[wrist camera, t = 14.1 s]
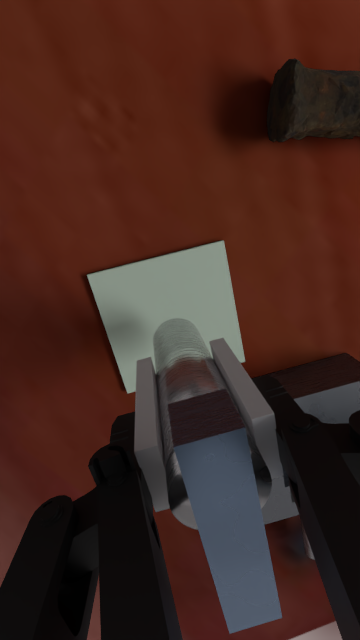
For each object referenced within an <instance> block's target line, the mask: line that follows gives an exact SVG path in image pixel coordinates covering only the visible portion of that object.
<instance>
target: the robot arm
mask: <svg viewBox="0 0 360 640" xmlns="http://www.w3.org/2000/svg"><path fill="white" fill-rule="evenodd" d="M209 343H210V347H211V352H212V356H213V360H214V362H215V364H216V366H217V368H218V370H219V372H220V374H221V376H222V378H223V380H224V382H225V384H226V386H227V388H228V390H229V392H230V394H231V396H232V398H233V400H234V402H235V404H236V406H237V408H238V410H239V412H240V414H241V416H242V418H243V420H244V422H245V424H246V426H247V428H248V430H249V432H250V434H251V436H252V437H253V439H254V441H255V443H256V445H257V447H258V449H259V451H260V453H261V455H262V457H263V459H264V461H265V463H266V465H267V467H268V469H269V471H270V474H271V479H274V478H277V477H281V476H284V475H283V468H282V465H283V467H284V469H285V471H286V473H287V474H288V479H289V486H290V493H291V500H292V503H293V502H295V504H296V506H297V509H298V512H299V515H300V518H301V521H302V524H303V527H304V530H305V532H306V535H307V538H308V541H309V544H310V547H311V550H312V553H313V556H314V558H315V561H316V564H317V567H318V570H319V573H320V576H321V579H322V582H323V584H324V587H325V590H326V593H327V596H328V599H329V602H330V605H331V608H332V610H333V613H334V616H335V619H336V622H337V625H338V628H339V631H340V633H341V636H342V639H343V640H360V410H359V411H356V412H354V413H353V414H351V416H350V417H349V423H338V424H330V423H322V422H321V421H320V420H319V419H318V418H317V417H315V416H313V415H311V414H307V413H304V411H303V410H302V409H301V408H300V407H299V405H298V404H297V403H296V402H295V401H294V399H293V398H292V397H291V396H290V395H289V393H287V391H286V390H285V389H284V387H283V386H282V385H281V384H280V383H279V381H278V380H277V379H275V378H273V377H271V376H269V375H264V376H261V377H257V378H253V379H251V378H250V377H249V375H248V374H247V372H246V371H245V369H244V368H243V366H242V365H241V363H240V362H239V360H238V359H237V357H236V356H235V354H234V353H233V351H232V350H231V349H230V347H229V346H228V344H227V343H226V341H225V340H224V338H220V339H216V340H212V341H209ZM88 467H89V469H90V471H91V474H92V476H93V478H94V481H95V483H96V485H97V486H96V487H95V488H94V489H93V490H92V491H90V492H89V493H87V494H86V495H84V496H82V497H80V498H78V499H77V500H75V501H73V502H72V500H71V498H70V497H68V496H66V495H63V496H56V497H54V498H51V499H49V500H48V501H46V502H45V503H43V504H42V505H41V506H40V507H39V508H38V509H37V510H36V511H35V512H34V514H33V516H32V517H31V519H30V521H29V523H28V526H27V528H26V530H25V533H24V535H23V537H22V539H21V542H20V544H19V546H18V548H17V551H16V553H15V555H14V558H13V560H12V562H11V564H10V567H9V569H8V571H7V573H6V576H5V578H4V580H3V583H2V585H1V587H0V640H87V635H88V629H89V624H90V619H91V613H92V608H93V602H94V597H95V592H96V586H97V581H98V575H99V584H100V618H101V640H183V639H182V635H181V630H180V626H179V621H178V617H177V613H176V608H175V604H174V599H173V595H172V591H171V586H170V582H169V577H168V573H167V569H166V564H165V560H164V555H163V551H162V547H161V542H160V538H159V533H158V529H157V525H156V522H155V519H154V517H153V506H154V509H155V511H156V512H158V511H162V510H165V509H169V508H170V507H169V502H168V493H167V483H166V471H165V461H164V450H163V440H162V430H161V419H160V409H159V399H158V389H157V378H156V373H155V369H154V366H153V362H152V359H151V357H148V358H144V359H141V360H137V367H136V402H135V412H132V413H128V414H124V415H121V416H118V417H117V418H116V420H115V421H114V423H113V424H112V429H111V436H110V443H109V444H108V445H106V446H104V447H102V448H100V449H99V450H98V451H97V452H96V453H95V454H94V455H93V456H92V458H91V459H90V461H89V465H88Z"/></svg>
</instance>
